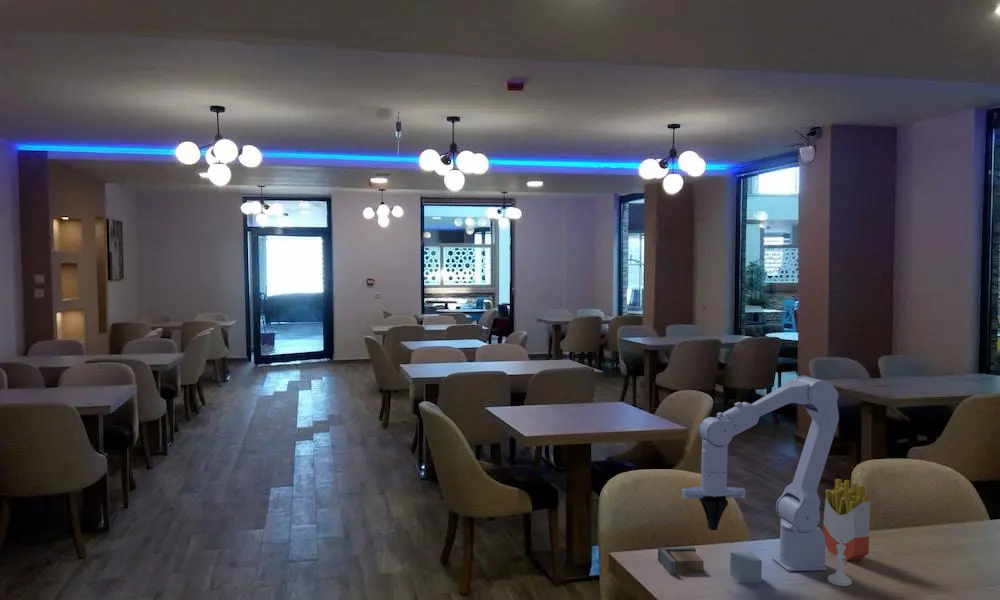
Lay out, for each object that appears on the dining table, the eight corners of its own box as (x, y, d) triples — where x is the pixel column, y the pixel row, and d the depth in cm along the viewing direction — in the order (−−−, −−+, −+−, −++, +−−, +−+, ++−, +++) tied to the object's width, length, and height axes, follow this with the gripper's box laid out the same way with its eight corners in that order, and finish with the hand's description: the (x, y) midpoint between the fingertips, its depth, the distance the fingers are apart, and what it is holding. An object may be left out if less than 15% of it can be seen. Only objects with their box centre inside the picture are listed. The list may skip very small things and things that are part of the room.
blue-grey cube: (751, 574, 170) (751, 552, 170) (761, 583, 165) (761, 560, 165) (729, 574, 170) (730, 552, 170) (739, 583, 165) (739, 560, 165)
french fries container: (852, 565, 177) (854, 489, 177) (821, 549, 188) (823, 477, 187) (868, 563, 178) (870, 488, 178) (836, 547, 189) (839, 476, 188)
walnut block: (694, 564, 177) (694, 551, 176) (703, 573, 171) (703, 560, 171) (669, 564, 176) (669, 551, 176) (677, 574, 170) (677, 561, 170)
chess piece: (854, 587, 164) (856, 541, 164) (830, 584, 165) (831, 539, 165) (848, 578, 169) (850, 534, 169) (825, 576, 170) (826, 532, 170)
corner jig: (693, 559, 179) (693, 547, 178) (707, 573, 170) (708, 560, 170) (657, 560, 178) (658, 547, 178) (670, 574, 169) (670, 561, 169)
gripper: (737, 465, 178) (735, 522, 179) (677, 466, 177) (676, 523, 177) (750, 473, 171) (748, 532, 172) (688, 473, 170) (687, 533, 170)
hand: (712, 528), depth 174 cm, fingers closed
